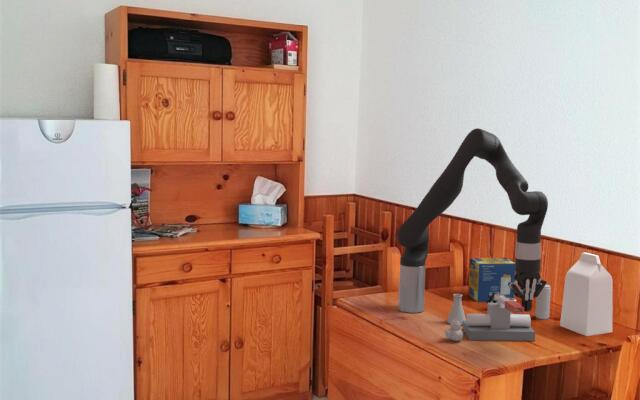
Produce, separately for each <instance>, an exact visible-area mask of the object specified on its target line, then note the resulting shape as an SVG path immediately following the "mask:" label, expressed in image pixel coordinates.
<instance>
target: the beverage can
mask: <svg viewBox="0 0 640 400" xmlns="http://www.w3.org/2000/svg"><path fill="white" fill-rule="evenodd" d="M551 287H552V286H551V285H550V284H547V283H546V285H545V286H544V288H543V289H542V291H541V292H540V294H539V295H538V297H535V313H534V316H535V318H536V319H538V320H546V321H547V320H548V319H550V311H551V309H550V308H551V291H552V290H551V289H552V288H551Z"/></svg>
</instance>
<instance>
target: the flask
mask: <svg viewBox="0 0 640 400" xmlns="http://www.w3.org/2000/svg"><path fill="white" fill-rule="evenodd" d="M452 296H453V301H452V306H451V309H450V311H449V314H448V316H447V318H446V323H447V324H449V325H450V323H451V321H452V320H453V319H456V317H457V320H458V321H459V323H460V324H461V326H463V321H467V316H466V314H465V311H464V308H463V303H462V300H463V299H462V298H463V294H462V293H453V294H452Z"/></svg>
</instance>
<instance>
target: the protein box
mask: <svg viewBox="0 0 640 400" xmlns="http://www.w3.org/2000/svg"><path fill="white" fill-rule="evenodd" d="M515 275H516V271H515V261H512V260H510V259H508V258H507V257H469V279H468V281H469V282H468V296H469V297H471V298H472V299H473V300H474V301H475V302H477V303H486V301H487V300H489V298H488V295H490V296H492V293H496V294H502V295H504V296H505V297H506V298H515V294H514V293H513V292H512V290H511V289H510V287H509V286H508V283H509V282H512V281H513V280H514V277H515ZM492 299H494V297H493V298H492ZM490 303H492V301H491V302H490Z"/></svg>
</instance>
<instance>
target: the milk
mask: <svg viewBox="0 0 640 400" xmlns="http://www.w3.org/2000/svg"><path fill="white" fill-rule="evenodd" d="M613 283H614V282H613V277H612V275H611V273H609V271H608V270H607V269H606V268H605V267H604V266H603V264H602V263H601V260H600V256H599V255H596V254H593V253H589V252H581V255H580V257H579V259H578V260H577V261H576V262H575V264H573V265H572V266H571V267H570V268H569V269H568V270H567V272H566V274H565V279H564V288H563V295H562V305H561V315H560V321H559V326H560V327H561V328H564V329H567V330H570V331H572V332H575V333H577V334H580V335H582V336H584V337H590V336H597V335H604V334H608V333H613V301H614V300H613V298H614V295H613V294H614V292H613V289H614V288H613V287H614V286H613Z"/></svg>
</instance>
